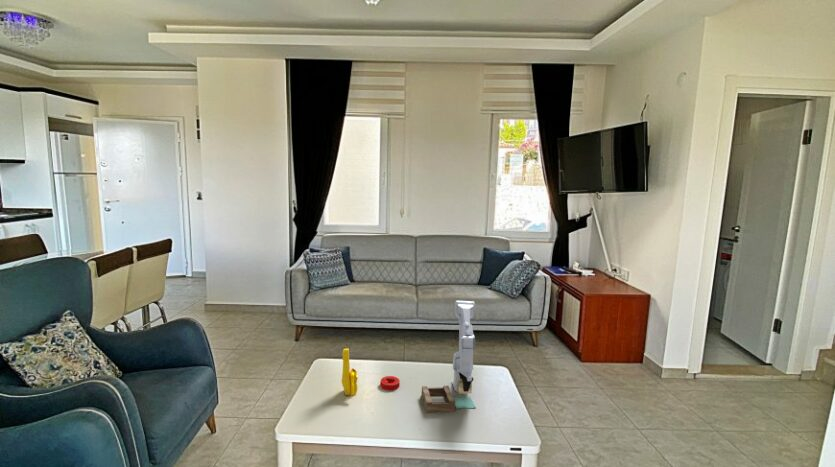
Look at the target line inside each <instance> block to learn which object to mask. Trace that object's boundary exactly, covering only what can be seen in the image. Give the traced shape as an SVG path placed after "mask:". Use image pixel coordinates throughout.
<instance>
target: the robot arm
mask: <svg viewBox="0 0 835 467" xmlns="http://www.w3.org/2000/svg"><path fill="white" fill-rule="evenodd" d="M475 310H476V304H475V301H474V300H471V301H470V300H458V299H457V300H455V303H454V315H455V318H457V319H458V322H459V324H458V325H459V327H458V328H459V330H458V332H459V334H458V339H459V340H458V351H456V352H455V353H454V354H453V356H452V357H453V358H452V369H453V381H451V384H453V385H452V387H453V389H454V391H455V392H458V391H457V379H462V382H463V390H464V392H467V391H469V388H470V385H471V383H472V384H473V381H474V380H475V378H474V377H473V370H474V349H475V347H476V337H475V334H474V327H473V325H472V323H471V319H472V318H473V316H474V314H475Z"/></svg>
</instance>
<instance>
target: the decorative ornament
mask: <svg viewBox="0 0 835 467" xmlns="http://www.w3.org/2000/svg"><path fill="white" fill-rule="evenodd" d="M400 382H401V381H400V378H399V377H397V376H394V375H386V376H384V377H382V378H381V379H380V388H381V389H383V390H385V391H396V390H397V389H399V388H400V385H401V384H400Z"/></svg>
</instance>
